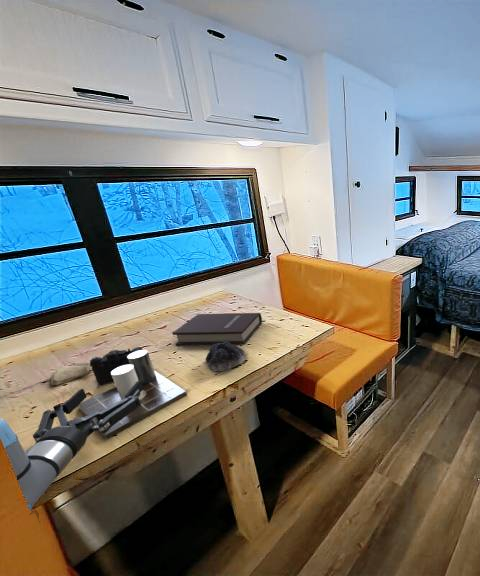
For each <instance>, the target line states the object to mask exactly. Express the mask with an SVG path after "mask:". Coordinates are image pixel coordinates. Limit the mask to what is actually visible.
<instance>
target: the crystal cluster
mask: <svg viewBox="0 0 480 576" xmlns="http://www.w3.org/2000/svg"><path fill="white" fill-rule="evenodd" d="M208 351H209V352H207V355H206V357H205V363H206V364H208V368H209V369H210V370H212V372H223V371H228V370H230V369H233V368H236V367H237V366H240V365H242V364H243V363H244V362H245V361H246V354H245V351H244V350H243V348H241V347H239V346H238V345H232V344H230V342H227V341H225V342H224V343H217V344H213V345H210V347H209V348H208Z"/></svg>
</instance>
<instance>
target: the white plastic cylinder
mask: <svg viewBox="0 0 480 576" xmlns="http://www.w3.org/2000/svg"><path fill="white" fill-rule="evenodd" d="M111 375H112V378H113V380H114V382H113V383H114V385H115V387H116V388H117V391H118V393H119V396H120V398H121V400H123V399H125V395H126V394H127V393H128V392H129V390H130V389H131V388H132V387H133V386H134V385H135V383H136V382H137V381H139V380H138V377H137V374H136V371H135V369H134V366H133V365H123V366H120V367H118V368H116V369H114V370H113V371H112V372H111ZM142 396H143V391H141V392H140V396H139V399H140V398H141V397H142Z"/></svg>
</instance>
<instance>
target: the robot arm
mask: <svg viewBox="0 0 480 576" xmlns="http://www.w3.org/2000/svg"><path fill="white" fill-rule="evenodd" d="M142 390H143V386H142V383H141V381H137V382H136V383H135V385H134V386H133V387H132V388H131V389H130V390H129V392H128V393H127V394H126V395H125V399H123V400H121V401H119V402H117V403H116V404H114V405H112V406H110V407H108V408H106V409H104V410H102V411H101V412H95V413H93V414H91V415H89V416H83V417H74V418H72V419H69V420H68V418H67V416H66V415H70V414H71V413H72V412H73V411H74V410H76V409H77V408H78V405H79V404H80V403H82V402H84V401H85V399H86V398H88V395H87V393H86V391H85V389H84V388H79V390H77V391H76V392H75V393H74V394H73V395H72V396H71V397H70V398H68V399H67V400H65V401H64V402H63V403H61V404H59V403H58V404H55V405H54V406H53V407H52V408H53V410H51V409H48V410H47V409H46V410H45V411H43V413H42V416H41V419H40V422H39V425H38V427H37V430H36V431H35V432H33V434H32V437H33V439H34V442H35V443H33V444H32V445H31V446H30V447H29V448H27V450H26V451H25V449H24V448H23V445H22V444H21V442H20V440H19V437H18V435H17V434H16V433H15V432H14V431H13V429H12V427H10V425H9V423H8V422H7V421H6V420H5V419H3V418H0V439H2V442H3V445H4V447H5V450H6V452H7V455H8V457H9V460H10V462H11V464H12V467H13V469H14V472H15V475H16V477H17V480H18V483H19V485H20V487H21V490H22V492H23V495H24V497H25V499H26V502H27V505H28V508H29V510H30V511H31V510H32V509H33V508H34V506H35V504H36V503H37V502H38V501H39V499H40V498H41V497H42V496H43V495H44V493H45V492H46V491H47V490H48V489H49V487H50V486H51V485H52V483H53V482H54V481H55V480H56V479H57V478H58V477H59V475H60V474H61V473H62V472H63V471H64V470H65V468H66V467H67V466H68V465H69V464H70V462H71V461H72V460H73V459H74V458H75V457H76V456H77V454H78V453H79V452H80V451H81V450H82V449H83V447H84V446H85V444H86V441H87V439H88V437H89V436H90V435H92V434H93V433H95V432H100V431H101V432H100V434H101V435H103V433H106V432H107V431H108V430H109V429H110V428H111V427H112V426H113V425H114V424H116V423H117V422H119V421H120V420H121V419H123V418H124V417H126V416H127V415H128V414H130V413H131V412H133V411H134V410H135V409H137V408H138V407H139V406H141V403H140V400H139V396H140V392H141V391H142ZM55 418H57V419H58V422H59V424H60V425H59V426H54V427H53V425H54V421H55ZM93 418H96V420H97V423H96V424H94V421H93Z"/></svg>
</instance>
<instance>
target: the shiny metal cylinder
mask: <svg viewBox="0 0 480 576" xmlns="http://www.w3.org/2000/svg"><path fill="white" fill-rule="evenodd" d="M150 357H151V356H150V354H149V351H148V350H145V349H143V350H139V351H136V352H133V353H131V354H129V355H128V356H127V358H128V361H129V364H130V365H133V366H134V369H135V371H136V374H137V377H138V380H139V381H141V383H142V385H146V384H149V383H151V382H153V381H154V380H155V379H156V375H155V372H154V370H155V368H154V366H153V363H152V360H151V358H150Z"/></svg>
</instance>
